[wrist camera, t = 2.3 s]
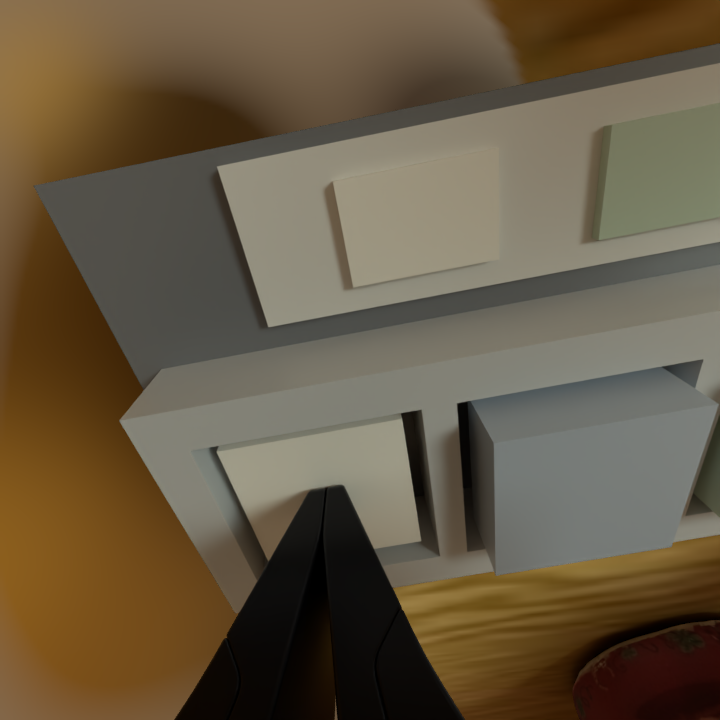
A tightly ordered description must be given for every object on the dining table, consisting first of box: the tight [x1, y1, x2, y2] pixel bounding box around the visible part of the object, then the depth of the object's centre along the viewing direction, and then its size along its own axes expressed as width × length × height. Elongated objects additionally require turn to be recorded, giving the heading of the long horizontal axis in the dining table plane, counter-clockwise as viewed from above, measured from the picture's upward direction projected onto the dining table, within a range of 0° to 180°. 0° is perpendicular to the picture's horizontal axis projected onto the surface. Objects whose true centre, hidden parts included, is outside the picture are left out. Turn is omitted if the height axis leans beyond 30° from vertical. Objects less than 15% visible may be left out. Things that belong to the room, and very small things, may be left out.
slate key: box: [467, 367, 719, 575], centre depth 8 cm, size 4×4×2 cm
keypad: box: [34, 43, 720, 613], centre depth 9 cm, size 19×11×3 cm, turn 100°
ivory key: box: [217, 413, 421, 561], centre depth 10 cm, size 4×4×2 cm
